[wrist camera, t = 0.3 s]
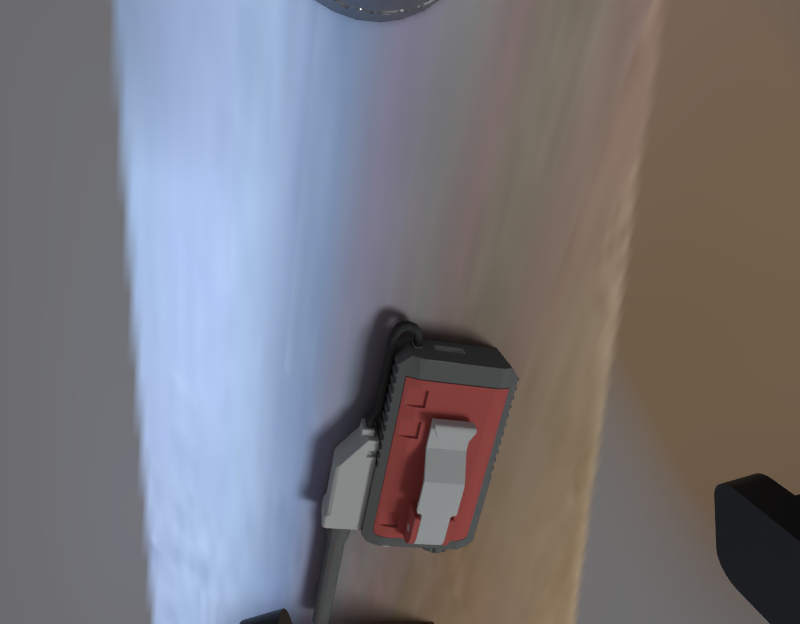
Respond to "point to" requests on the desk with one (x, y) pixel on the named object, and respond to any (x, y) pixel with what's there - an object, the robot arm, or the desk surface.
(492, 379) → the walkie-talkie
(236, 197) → the desk surface
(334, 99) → the desk surface
